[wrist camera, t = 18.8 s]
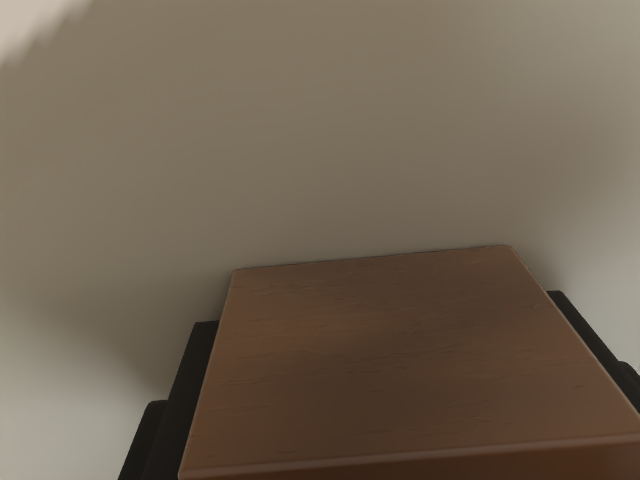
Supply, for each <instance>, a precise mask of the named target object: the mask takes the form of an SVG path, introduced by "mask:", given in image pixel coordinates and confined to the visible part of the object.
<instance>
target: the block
mask: <svg viewBox="0 0 640 480" xmlns="http://www.w3.org/2000/svg"><path fill="white" fill-rule="evenodd" d="M178 480H640V414H639V413H638V412H637V410H636V409H635V408H634V406H633V405H632V404H631V403H630V401H629V400H628V399H627V397H626V396H625V395H624V393H623V392H622V391H621V389H620V388H619V387H618V386H617V384H616V383H615V382H614V380H613V379H612V378H611V376H610V375H609V374H608V372H607V371H606V370H605V369H604V367H603V366H602V365H601V363H600V362H599V361H598V359H597V358H596V357H595V355H594V354H593V353H592V352H591V350H590V349H589V348H588V346H587V345H586V344H585V342H584V341H583V340H582V338H581V337H580V336H579V335H578V333H577V332H576V331H575V329H574V328H573V327H572V325H571V324H570V323H569V321H568V320H567V319H566V318H565V316H564V315H563V314H562V312H561V311H560V310H559V308H558V307H557V306H556V305H555V303H554V302H553V301H552V299H551V298H550V297H549V295H548V294H547V293H546V291H545V290H544V289H543V288H542V286H541V285H540V284H539V282H538V281H537V280H536V278H535V277H534V276H533V274H532V273H531V272H530V271H529V269H528V268H527V267H526V265H525V264H524V263H523V261H522V260H521V259H520V257H519V256H518V255H517V254H516V252H515V251H514V250H513V248H512V247H511V246H508V245H503V246H492V247H481V248H470V249H459V250H448V251H437V252H426V253H415V254H404V255H393V256H382V257H371V258H360V259H349V260H338V261H327V262H315V263H304V264H293V265H282V266H271V267H260V268H249V269H238V270H236V271H234V272H233V275H232V279H231V283H230V286H229V290H228V294H227V297H226V301H225V304H224V308H223V312H222V315H221V319H220V323H219V326H218V330H217V334H216V337H215V341H214V345H213V348H212V352H211V355H210V359H209V363H208V366H207V370H206V374H205V377H204V381H203V385H202V388H201V392H200V395H199V399H198V403H197V406H196V410H195V414H194V417H193V421H192V425H191V428H190V432H189V435H188V439H187V443H186V446H185V450H184V454H183V457H182V461H181V465H180V468H179V472H178Z"/></svg>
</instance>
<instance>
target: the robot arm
mask: <svg viewBox="0 0 640 480" xmlns="http://www.w3.org/2000/svg"><path fill="white" fill-rule="evenodd" d="M546 293H547V294H548V295H549V297H550V298H551V299H552V301H553V302H554V303H555V305H556V306H557V307H558V308H559V310H560V311H561V312H562V314H563V315H564V316H565V318H566V319H567V320H568V321H569V323H570V324H571V325H572V327H573V328H574V329H575V331H576V332H577V333H578V335H579V336H580V337H581V338H582V340H583V341H584V342H585V344H586V345H587V346H588V348H589V349H590V350H591V352H592V353H593V354H594V355H595V357H596V358H597V359H598V361H599V362H600V363H601V365H602V366H603V367H604V369H605V370H606V371H607V372H608V374H609V375H610V376H611V378H612V379H613V380H614V382H615V383H616V384H617V386H618V387H619V388H620V389H621V391H622V392H623V393H624V395H625V396H626V397H627V399H628V400H629V401H630V403H631V404H632V405H633V406H634V408H635V409H636V410H637V412H638V413H639V414H640V376H639V375H638V374H637V372H636V371H635V370H634V369H633V368H632V367H631V366H630V365H629V364H628V363H626V362H623V361H618V360H617V359H616V357H615V356H614V355H613V354H612V352H611V351H610V350H609V349H608V348H607V346H606V345H605V344H604V343H603V341H602V340H601V339H600V338H599V337H598V335H597V334H596V333H595V332H594V330H593V329H592V328H591V327H590V325H589V324H588V323H587V322H586V321H585V319H584V318H583V317H582V316H581V314H580V313H579V312H578V311H577V310H576V308H575V307H574V306H573V305H572V303H571V302H570V301H569V300H568V299H567V297H566V296H565V295H564V294H563V293H562V292H561V291H546ZM219 323H220V320H219V321H208V322H197V323H195V324H194V326H193V329H192V332H191V335H190V338H189V341H188V343H187V346H186V349H185V352H184V355H183V358H182V361H181V364H180V366H179V369H178V372H177V375H176V378H175V381H174V384H173V387H172V389H171V392H170V395H169V398H168V400H158V401H152V402H150V403H149V404H148V405H147V407H146V409H145V411H144V414H143V417H142V419H141V422H140V424H139V427H138V429H137V432H136V434H135V437H134V439H133V442H132V444H131V447H130V450H129V452H128V455H127V457H126V460H125V462H124V465H123V467H122V470H121V472H120V475H119V478H118V480H178V472H179V468H180V465H181V461H182V457H183V454H184V450H185V446H186V443H187V439H188V435H189V432H190V428H191V425H192V421H193V417H194V414H195V410H196V406H197V403H198V399H199V395H200V392H201V388H202V385H203V381H204V377H205V374H206V370H207V366H208V363H209V359H210V355H211V352H212V348H213V345H214V341H215V337H216V334H217V330H218V326H219Z"/></svg>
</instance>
